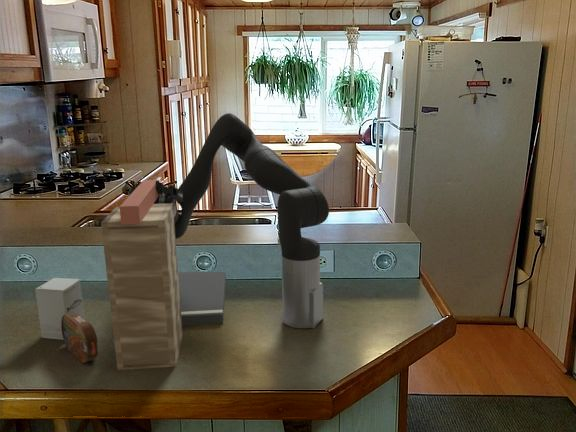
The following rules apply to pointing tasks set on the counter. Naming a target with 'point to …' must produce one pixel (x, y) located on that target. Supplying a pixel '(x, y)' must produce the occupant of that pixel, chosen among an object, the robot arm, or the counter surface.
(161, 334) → the shelf stand
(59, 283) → the supplement box
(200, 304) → the mat
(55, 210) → the counter surface
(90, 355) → the tin
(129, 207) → the bar
